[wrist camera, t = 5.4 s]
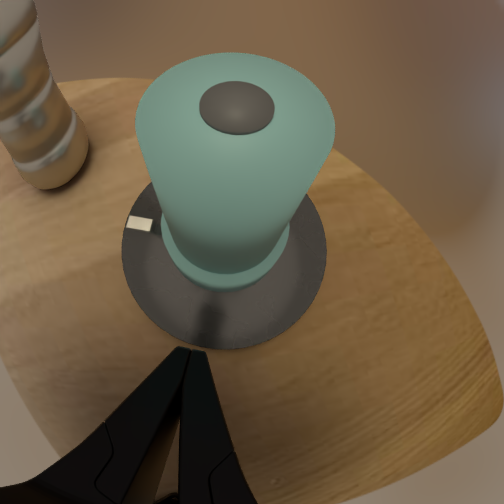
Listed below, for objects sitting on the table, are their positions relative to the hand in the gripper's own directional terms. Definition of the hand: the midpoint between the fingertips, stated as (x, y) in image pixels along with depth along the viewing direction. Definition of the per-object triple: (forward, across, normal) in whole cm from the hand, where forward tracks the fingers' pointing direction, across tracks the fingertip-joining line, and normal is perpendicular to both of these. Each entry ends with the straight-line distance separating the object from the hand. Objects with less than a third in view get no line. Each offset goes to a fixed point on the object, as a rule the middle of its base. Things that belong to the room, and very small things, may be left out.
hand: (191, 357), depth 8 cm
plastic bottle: (+16, +15, 0) cm, 22 cm away
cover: (+11, 0, +1) cm, 11 cm away
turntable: (+11, 0, +2) cm, 12 cm away
